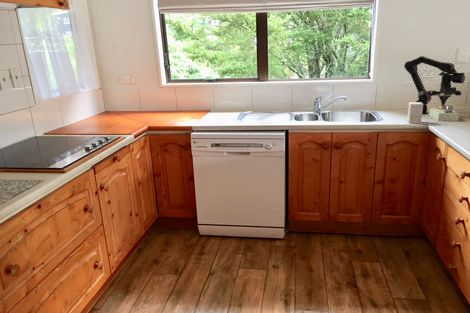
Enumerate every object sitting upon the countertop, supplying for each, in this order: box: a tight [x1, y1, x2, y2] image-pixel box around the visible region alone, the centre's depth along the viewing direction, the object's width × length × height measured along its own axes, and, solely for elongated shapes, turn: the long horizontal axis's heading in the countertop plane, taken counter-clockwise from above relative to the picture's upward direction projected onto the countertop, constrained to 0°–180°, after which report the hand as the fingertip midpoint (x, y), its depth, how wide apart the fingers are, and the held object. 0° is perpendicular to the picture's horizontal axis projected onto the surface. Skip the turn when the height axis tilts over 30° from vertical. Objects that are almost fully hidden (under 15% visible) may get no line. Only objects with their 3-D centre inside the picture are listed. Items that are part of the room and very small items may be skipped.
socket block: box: [428, 107, 460, 122], centre depth 246 cm, size 12×20×5 cm, turn 169°
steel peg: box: [445, 105, 454, 113], centre depth 239 cm, size 4×4×5 cm
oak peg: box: [438, 104, 447, 110], centre depth 251 cm, size 4×4×5 cm
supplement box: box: [406, 101, 423, 124], centre depth 235 cm, size 7×7×13 cm
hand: (442, 105), depth 250 cm, fingers closed, pressing on oak peg
